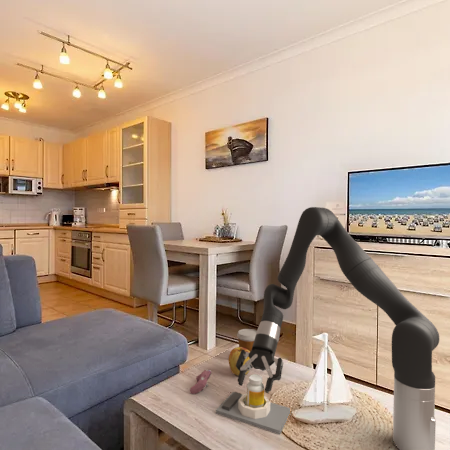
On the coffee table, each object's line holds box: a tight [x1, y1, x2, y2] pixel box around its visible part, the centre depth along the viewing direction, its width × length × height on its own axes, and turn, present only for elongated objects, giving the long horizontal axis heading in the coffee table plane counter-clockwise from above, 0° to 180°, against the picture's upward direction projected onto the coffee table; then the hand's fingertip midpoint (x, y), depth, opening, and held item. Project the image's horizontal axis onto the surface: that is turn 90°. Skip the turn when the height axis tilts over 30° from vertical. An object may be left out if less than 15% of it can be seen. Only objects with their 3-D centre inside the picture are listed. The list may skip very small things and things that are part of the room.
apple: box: [227, 346, 250, 377], centre depth 122 cm, size 9×9×10 cm
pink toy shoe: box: [189, 368, 212, 395], centre depth 111 cm, size 10×5×7 cm, turn 170°
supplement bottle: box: [246, 373, 265, 408], centre depth 97 cm, size 5×5×10 cm
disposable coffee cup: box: [236, 328, 257, 352], centre depth 134 cm, size 10×10×12 cm
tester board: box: [215, 391, 291, 435], centre depth 97 cm, size 20×12×4 cm, turn 63°
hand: (253, 388), depth 96 cm, fingers open, 8 cm apart
